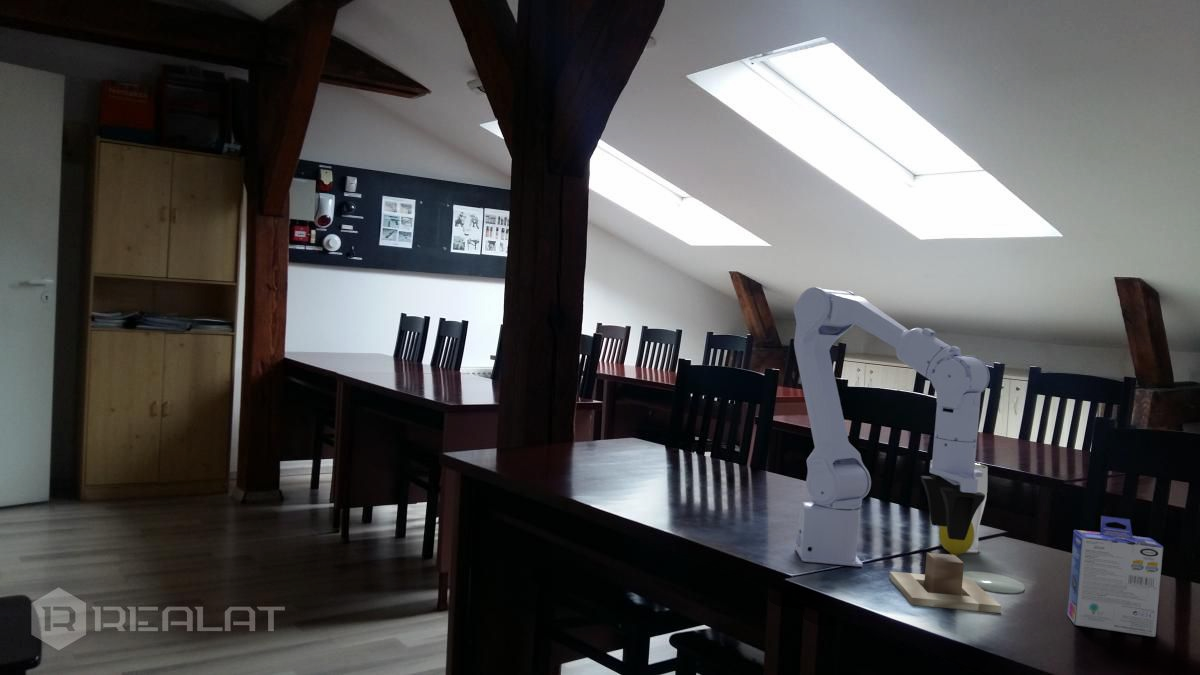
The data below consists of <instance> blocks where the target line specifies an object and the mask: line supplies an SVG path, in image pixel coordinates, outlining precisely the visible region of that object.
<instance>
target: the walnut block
mask: <svg viewBox="0 0 1200 675" xmlns="http://www.w3.org/2000/svg"><path fill="white" fill-rule="evenodd" d="M925 559H926V560H925V570H924V575H925V580H924V587H923V588H924V589H925V590H926V591H927V592H928V593H938V594H949V595H960V596H962V595H961V593H962V581H963V573H964V569H965V567H964V566H965V563H964V562H963V560H961V559H960V558H959V557H958V556H957V557H956V556H955V555H951V554H950V553H949V554H948V553H947V554H946V553H937V552H936V553H935V552H926V558H925Z"/></svg>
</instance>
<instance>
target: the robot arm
mask: <svg viewBox="0 0 1200 675" xmlns="http://www.w3.org/2000/svg"><path fill="white" fill-rule="evenodd" d="M793 314H794V317H795V323H796V325H795V330H794V331H795V332H794V339H793V346H794V347H793V348H794V353H795V357H796V362H797V366H798V373H799V376H800V383H801V386H802V391H803V397H804V401H805V406H806V410H807V416H808V420H809V426H810V430H811V436H812V440H813V445H814V448H813V449H812V452H810V454H809V456H808V457H807V459H806V467H807V474H806V480H805V481H806V482H805V485H806V490H807V493H808V494H809V496H810V498H811V501H800V502H801V503H800V504H799V507H798V508H799V509H798V518H797V529H796V540H795V541H796V542H795V550H796V552H797V554H798V556H799V558H800V560H801V561H802V562H804V563H806V562H807V563H818V564H827V565H828V564H829V565H840V566H849V567H850V566H852V567H863V565H864V563H863V562H862V561H861V560H860V558H859V557H858V556H857V550H858V549H857V548H858V547H857V546H858V536H859V526H860V525H859V524H860V511H861V510H860V509H861V506H862V504H863V499H864V498H865V497H866V496H867V495H869V492H870V490H871V487H872V479H871V478H872V477H871V475H870V472H869V470H868V469H867V467H866V466H865V464H864V463H863V460H862V456H861V453H860V452H859V451H858V449H856V447H854V446H853V445H852V444H851V443H850V441H849V437H848V433H847V428H846V423H845V418H844V415H843V414H844V413H843V409H842V405H841V399H840V395H839V391H838V385H837V382H836V378H835V377H836V376H835V373H834V366H833V363H832V359H831V353H830V350H831V348H832V346H833V345H834V343H835V342H836V341H837V340H839V338H841V337H842V336H843V335H844V334H845V333H846V332H847V331H849V330H850V329H851V328H852V327H853V326H855V325H856V326H857V327H859V328H861V329H863V330H864V331H866V332H868V333H869V334H872V335H873V336H875V337H876V338H878V339H880V340H881V341H883V342H884V343H887V344H889V345H890V346H892V347H893V348H895V353H896V357H897V359H898V360H899V361H901V362H902V363H904V364H905V365H907V367H910V368H911V369H912V370H914V371H916V372H917V373H919V374H920V375H922V376H923V377H925V378H926V379H928V380H929V381H930V382H931V385H932V387H933V389H934V390H935V392H936V401H935V402H936V412H935V423H934V436H933V447H932V459H930V462H929V473H930V474H931V475H930V476H928V475H921V476H920V480H921V483H922V485H923V488H924V491H925V494H926V497H927V498H926V499H927V503H928V512H929V518H930V524H931V525H932V526H934V527H935V526H936V527H940V526H946V527H947V533H948V538H949V539H955V540H965V538H966V535H967V533H968V530H969V527H970V524H971V521H972V519H973V516H974V514H975V512H976V510H977V509H978V507H979V506H980V504H981V503H982V502H983V501H984V499H985V495H984V494H983V493H981V492H977V485H978V479H976V478H975V477H982V476H983V472H981V471H979V470H974V469H975V463H976V456H977V445H978V444H977V443H978V433H979V432H978V431H979V420H980V411H981V410H980V409H981V408H980V407H981V396H982V395H981V394H982V393H983V392H985V390H986V389H987V388H988V386H989V383H990V379H991V376H990V375H991V373H990V370H989V368H988V366H987V364H986V363H985V362H984V361H982V360H981V359H980V358H979V357H978V355H977V356H976V355H963V354H962V348H960V347H958V346H957V345H949V344H947V343H945V341H942V340H941V339H939V338H937V337H936V336H935V335H936V331H935V330H932V329H931V328H926V327H924V328H921V327H915V328H912V329H908V328H906V327H905V326H904V325H902V324H900V323H899V322H898V321H896V320H895V319H894V318H892V317H890V316H889V315H888V314H886V313H885V312H883V311H882V310H881V309H879V308H878V307H877V306H875V305H874V304H872V303H871V302H869V301H868V300H867V299H866V298H865V297H862V296H860V295H857V294H855V292H853V291H851V290H835V289H834V290H833V289H825V288H821V287H817V286H813V287H809V288H807V289H806V290H804V291H803V292H802V293H801V295H800V297H798V300H797V302H795V304H794V306H793Z"/></svg>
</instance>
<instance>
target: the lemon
mask: <svg viewBox="0 0 1200 675" xmlns="http://www.w3.org/2000/svg"><path fill="white" fill-rule="evenodd" d="M938 538H939V543H940V544H941V546H942V548H943V549H945V551H947V552H948V553H949V554H950V555H955V556H956V557H958V556H960V555H961V554H966V553H965V552H966V551H968V550H969V549H970V548H971V546H972V544H973V541H974V528H973V524H972V522H971V524H970V527H969V530H968V533H967V535H966V538H965V540H955V539H949V538H948V533H947V527H946V526H939V529H938Z"/></svg>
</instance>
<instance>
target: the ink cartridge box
mask: <svg viewBox="0 0 1200 675" xmlns="http://www.w3.org/2000/svg"><path fill="white" fill-rule="evenodd" d="M1110 523H1111V524H1113V523H1117V524H1120V525H1123V526H1125V529H1123V528H1118V527H1117V528H1116V527H1111V526H1110V527H1108V526H1107V525H1106V524H1110ZM1071 552H1072V554H1071V565H1070V566H1071V567H1070V582H1069V592H1068V593H1069V594H1068V604H1067V605H1068V606H1067V617H1068V618H1069V619H1070V620H1071V622H1072V623H1073V625H1074V626H1080V627H1085V628H1086V627H1087V628H1093V629H1098V630H1099V629H1101V630H1104V631H1105V630H1106V631H1112V632H1120V633H1125V634H1132V635H1139V636H1145V637H1146V636H1147V637H1151V638H1155V637H1156V636H1157V622H1158V610H1159V608H1158V607H1159V599H1160V598H1159V597H1160V586H1161V584H1160V583H1161V576H1162V575H1161V573H1162V565H1163V562H1162V561H1163V555H1164V546H1163V545H1161V544H1160V543H1159V542H1157V541H1156V540H1154V539H1153V538H1151V537H1143V536H1136V535H1133V531H1132V526H1131V519H1128V518H1121V517H1114V516H1113V517H1112V516H1106V515H1100V532H1099V531H1091V530H1089V531H1088V530H1081V529H1080V530H1078V529H1074V530H1073V534H1072V551H1071Z"/></svg>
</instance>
